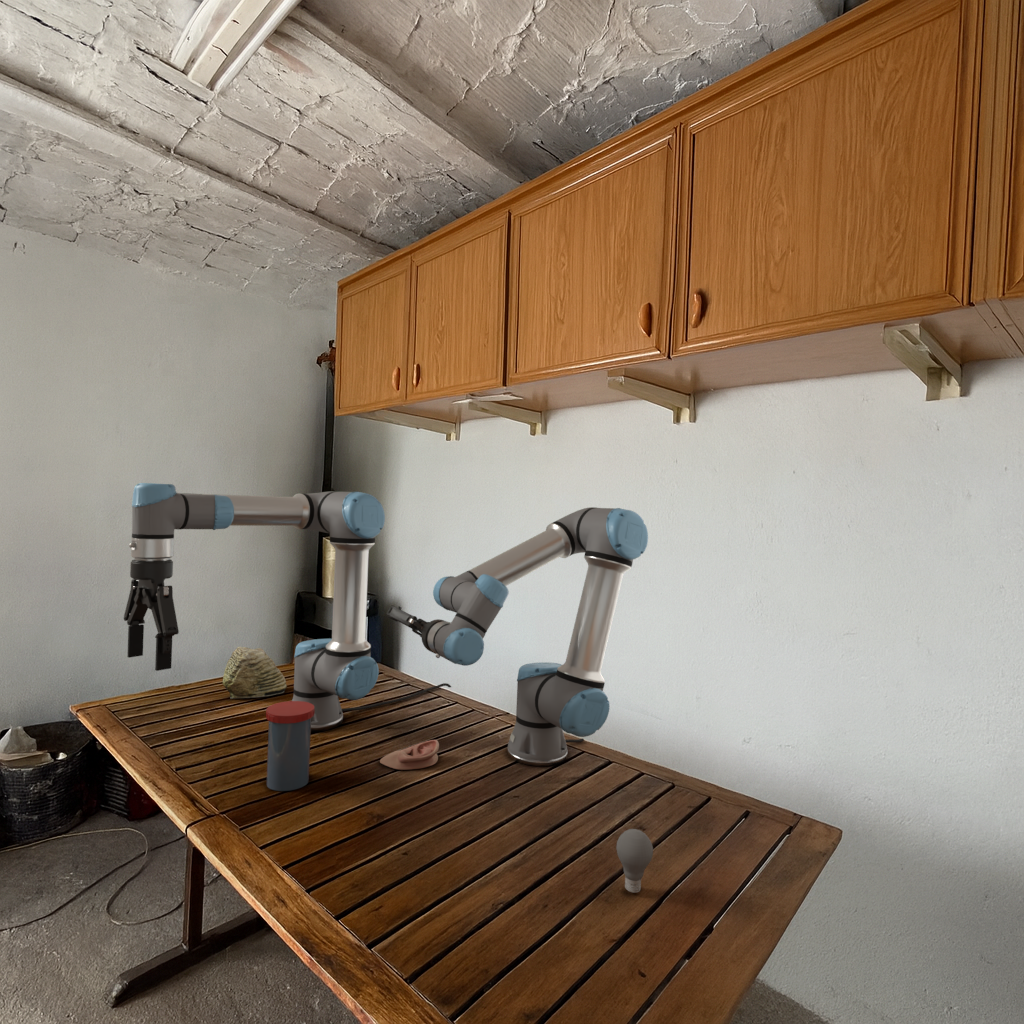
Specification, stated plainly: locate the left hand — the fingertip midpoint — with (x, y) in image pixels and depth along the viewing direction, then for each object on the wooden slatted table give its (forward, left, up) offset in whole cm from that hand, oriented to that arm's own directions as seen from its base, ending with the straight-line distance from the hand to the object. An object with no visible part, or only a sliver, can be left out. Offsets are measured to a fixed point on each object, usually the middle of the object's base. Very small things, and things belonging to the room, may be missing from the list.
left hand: (148, 662), depth 129 cm
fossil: (-50, -47, -28) cm, 74 cm away
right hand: (-55, +19, +3) cm, 58 cm away
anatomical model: (-50, +25, -28) cm, 63 cm away
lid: (-24, +14, -12) cm, 30 cm away
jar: (-24, +14, -28) cm, 39 cm away
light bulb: (-41, +90, -28) cm, 103 cm away
